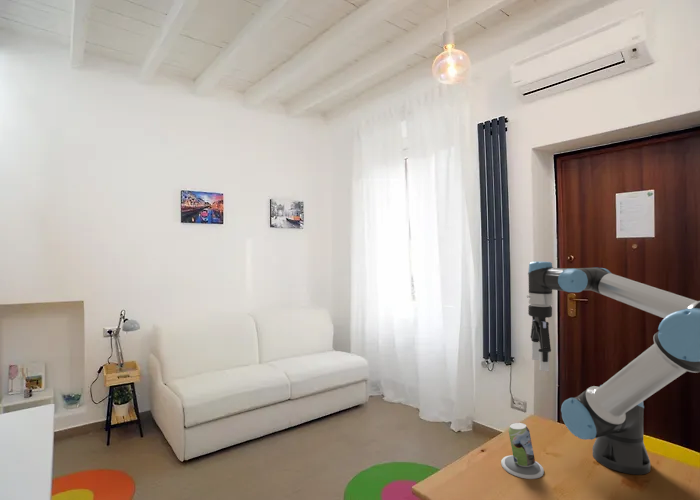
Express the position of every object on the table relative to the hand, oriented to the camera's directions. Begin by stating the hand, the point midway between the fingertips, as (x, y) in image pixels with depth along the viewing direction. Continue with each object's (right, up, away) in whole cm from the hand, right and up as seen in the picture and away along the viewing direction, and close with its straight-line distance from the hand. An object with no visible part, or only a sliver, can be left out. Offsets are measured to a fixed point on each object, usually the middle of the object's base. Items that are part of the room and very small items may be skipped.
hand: (539, 365), depth 137 cm
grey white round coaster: (-14, -27, -17) cm, 35 cm away
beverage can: (-14, -26, -17) cm, 34 cm away
